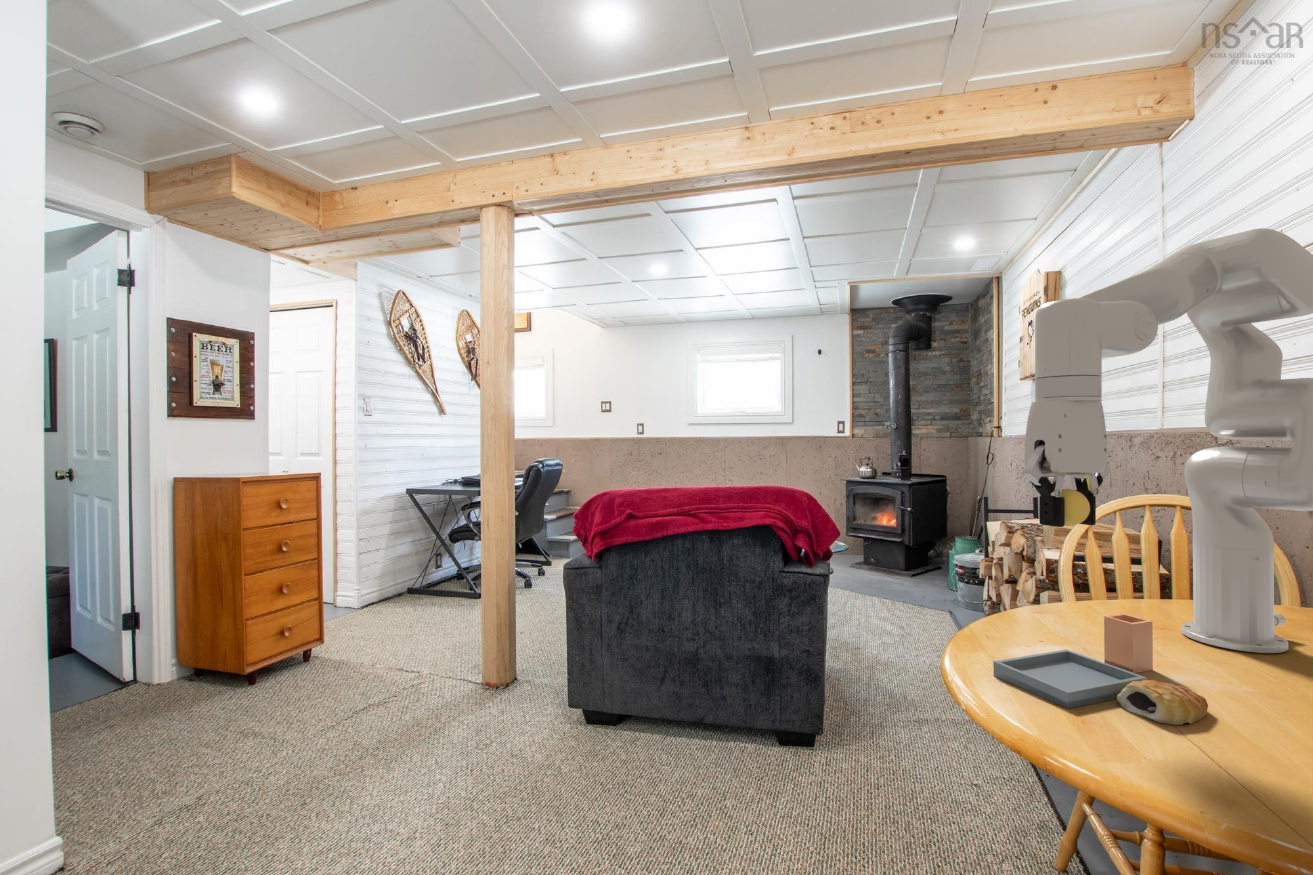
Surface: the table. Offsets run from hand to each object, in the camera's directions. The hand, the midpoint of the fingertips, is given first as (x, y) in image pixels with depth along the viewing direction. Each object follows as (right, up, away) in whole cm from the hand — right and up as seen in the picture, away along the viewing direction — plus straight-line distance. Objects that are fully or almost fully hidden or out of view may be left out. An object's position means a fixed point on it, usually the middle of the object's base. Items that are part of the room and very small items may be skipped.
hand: (1067, 523), depth 82 cm
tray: (0, -22, 0) cm, 22 cm away
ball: (0, +2, 0) cm, 2 cm away
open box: (+13, -22, +6) cm, 26 cm away
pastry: (+6, -22, -8) cm, 25 cm away
